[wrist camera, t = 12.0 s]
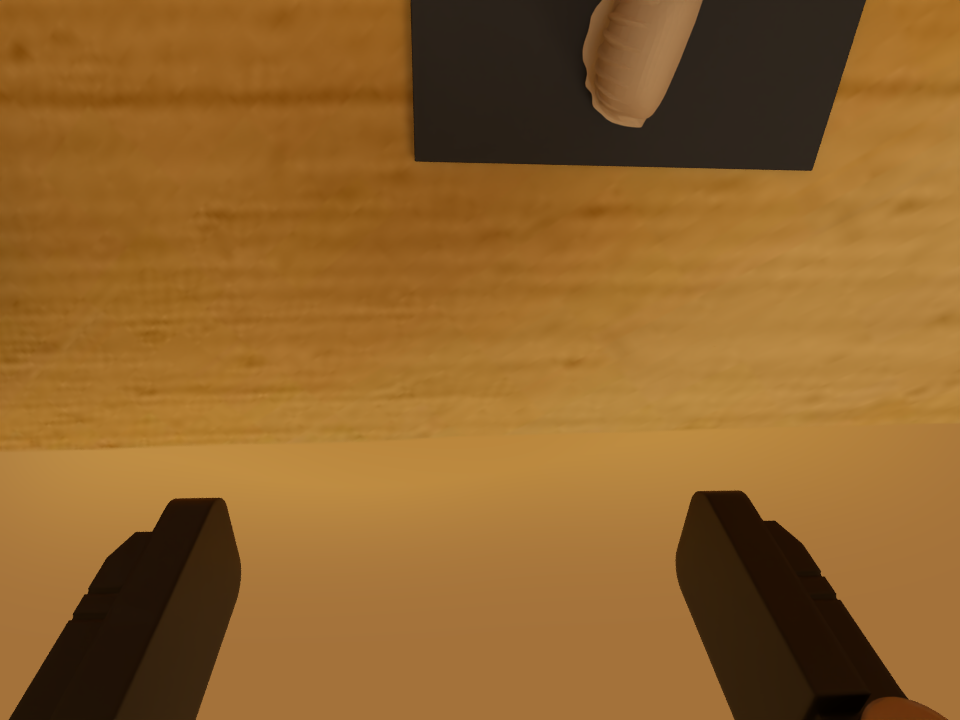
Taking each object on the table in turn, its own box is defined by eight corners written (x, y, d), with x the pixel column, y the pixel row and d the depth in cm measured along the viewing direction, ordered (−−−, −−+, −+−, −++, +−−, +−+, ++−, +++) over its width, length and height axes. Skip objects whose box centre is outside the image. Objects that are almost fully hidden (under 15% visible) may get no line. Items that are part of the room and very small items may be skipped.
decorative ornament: (561, 103, 28) (581, 124, 24) (638, -111, 24) (681, -135, 19) (638, 130, 29) (673, 156, 24) (726, -73, 25) (788, -87, 20)
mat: (415, 159, 30) (414, 161, 29) (407, -157, 23) (406, -159, 23) (808, 169, 30) (812, 170, 30) (902, -133, 24) (908, -135, 24)
